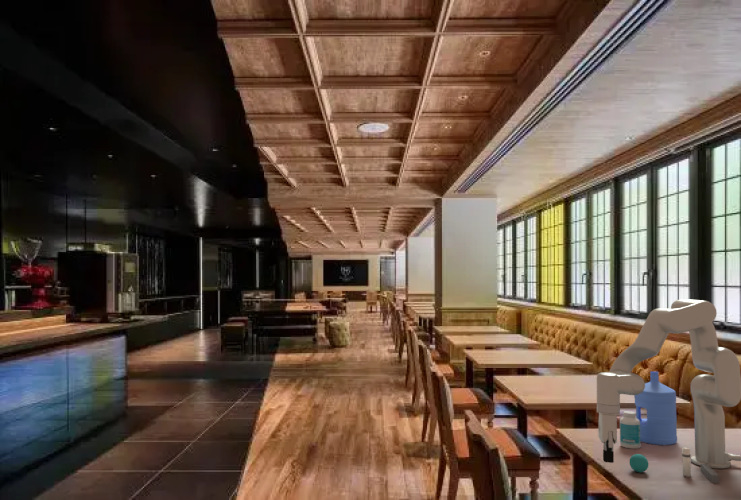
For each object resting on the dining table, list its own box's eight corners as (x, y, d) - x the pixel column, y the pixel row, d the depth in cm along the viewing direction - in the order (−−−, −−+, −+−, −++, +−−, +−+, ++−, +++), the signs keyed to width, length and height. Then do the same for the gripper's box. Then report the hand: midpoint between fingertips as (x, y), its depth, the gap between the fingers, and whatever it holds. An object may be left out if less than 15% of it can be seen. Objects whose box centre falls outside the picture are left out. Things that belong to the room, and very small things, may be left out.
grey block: (707, 471, 203) (706, 464, 203) (719, 483, 191) (718, 475, 192) (700, 471, 204) (700, 463, 204) (712, 482, 192) (712, 475, 192)
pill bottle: (643, 449, 229) (643, 414, 230) (624, 449, 229) (624, 414, 230) (635, 444, 237) (634, 410, 237) (617, 444, 237) (616, 410, 237)
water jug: (678, 438, 245) (676, 371, 246) (676, 448, 231) (674, 376, 232) (637, 433, 253) (636, 368, 254) (632, 442, 239) (631, 373, 240)
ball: (646, 469, 205) (646, 452, 205) (650, 475, 199) (650, 457, 199) (628, 468, 206) (627, 451, 207) (631, 474, 200) (631, 456, 201)
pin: (689, 474, 200) (689, 447, 200) (691, 476, 198) (691, 449, 198) (681, 473, 201) (681, 447, 201) (683, 476, 198) (683, 449, 199)
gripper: (593, 403, 214) (594, 454, 213) (599, 412, 199) (600, 467, 199) (616, 404, 212) (616, 456, 211) (623, 414, 198) (623, 469, 197)
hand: (608, 461), depth 205 cm, fingers closed
